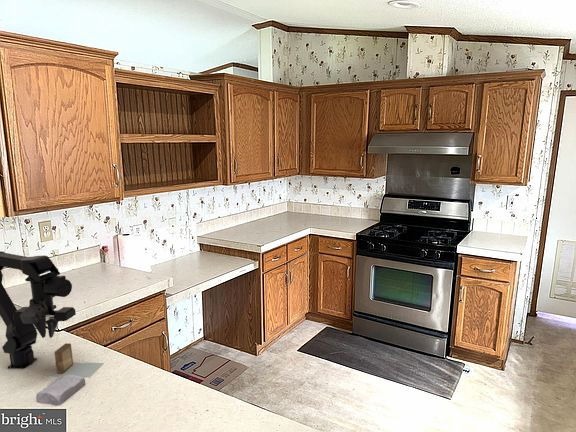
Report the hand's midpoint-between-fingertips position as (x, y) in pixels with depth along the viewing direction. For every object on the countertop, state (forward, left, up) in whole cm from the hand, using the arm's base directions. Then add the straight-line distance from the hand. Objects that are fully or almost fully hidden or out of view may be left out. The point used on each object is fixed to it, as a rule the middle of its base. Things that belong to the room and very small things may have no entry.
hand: (47, 337), depth 138 cm
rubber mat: (+9, 0, -12) cm, 15 cm away
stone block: (+12, -13, -12) cm, 22 cm away
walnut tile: (+5, 0, -12) cm, 13 cm away
